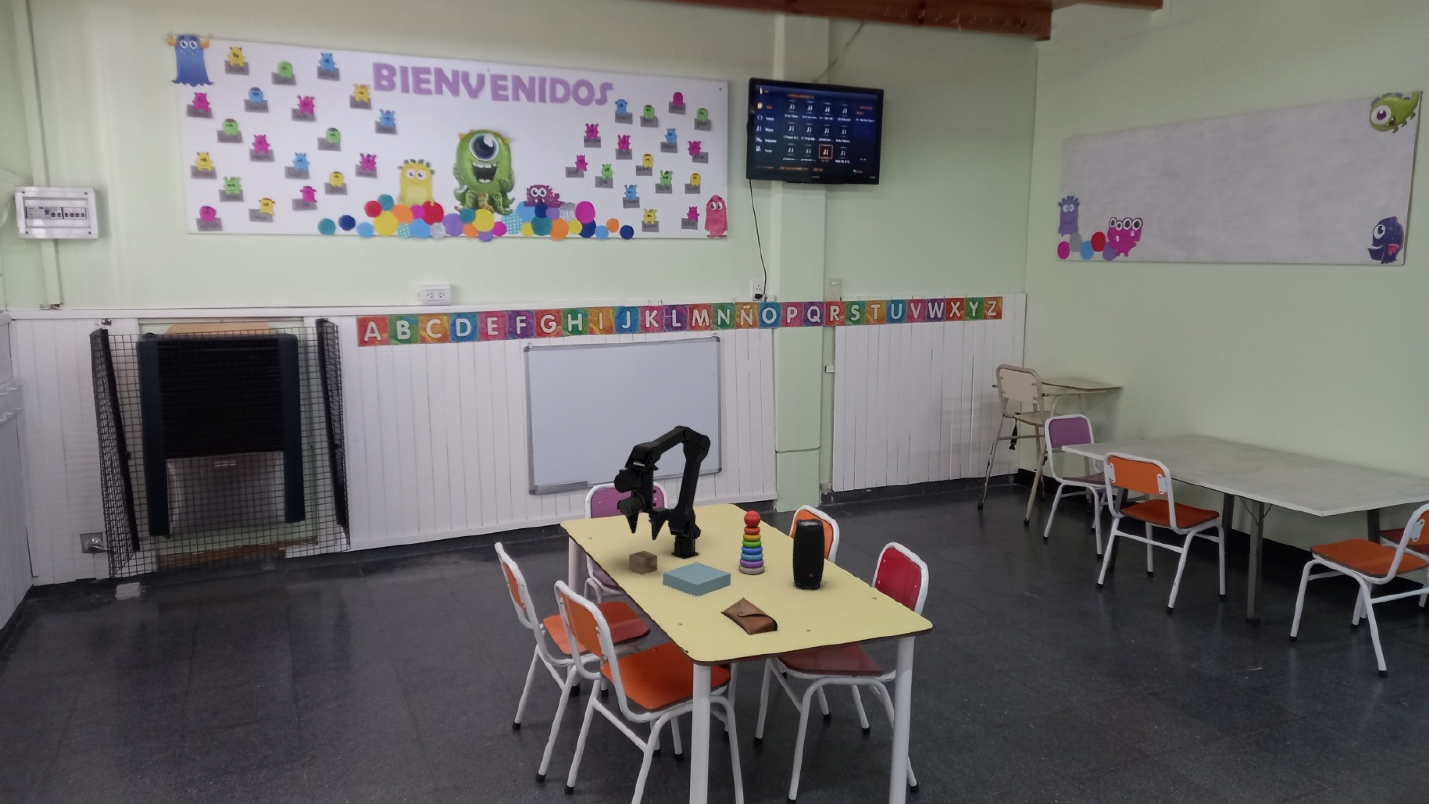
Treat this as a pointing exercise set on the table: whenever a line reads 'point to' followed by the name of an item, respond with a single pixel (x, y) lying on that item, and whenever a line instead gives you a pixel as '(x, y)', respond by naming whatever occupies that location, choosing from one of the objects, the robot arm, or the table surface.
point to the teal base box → (697, 579)
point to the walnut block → (643, 562)
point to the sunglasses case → (750, 617)
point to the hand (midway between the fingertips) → (643, 536)
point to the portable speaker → (808, 553)
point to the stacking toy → (751, 545)
